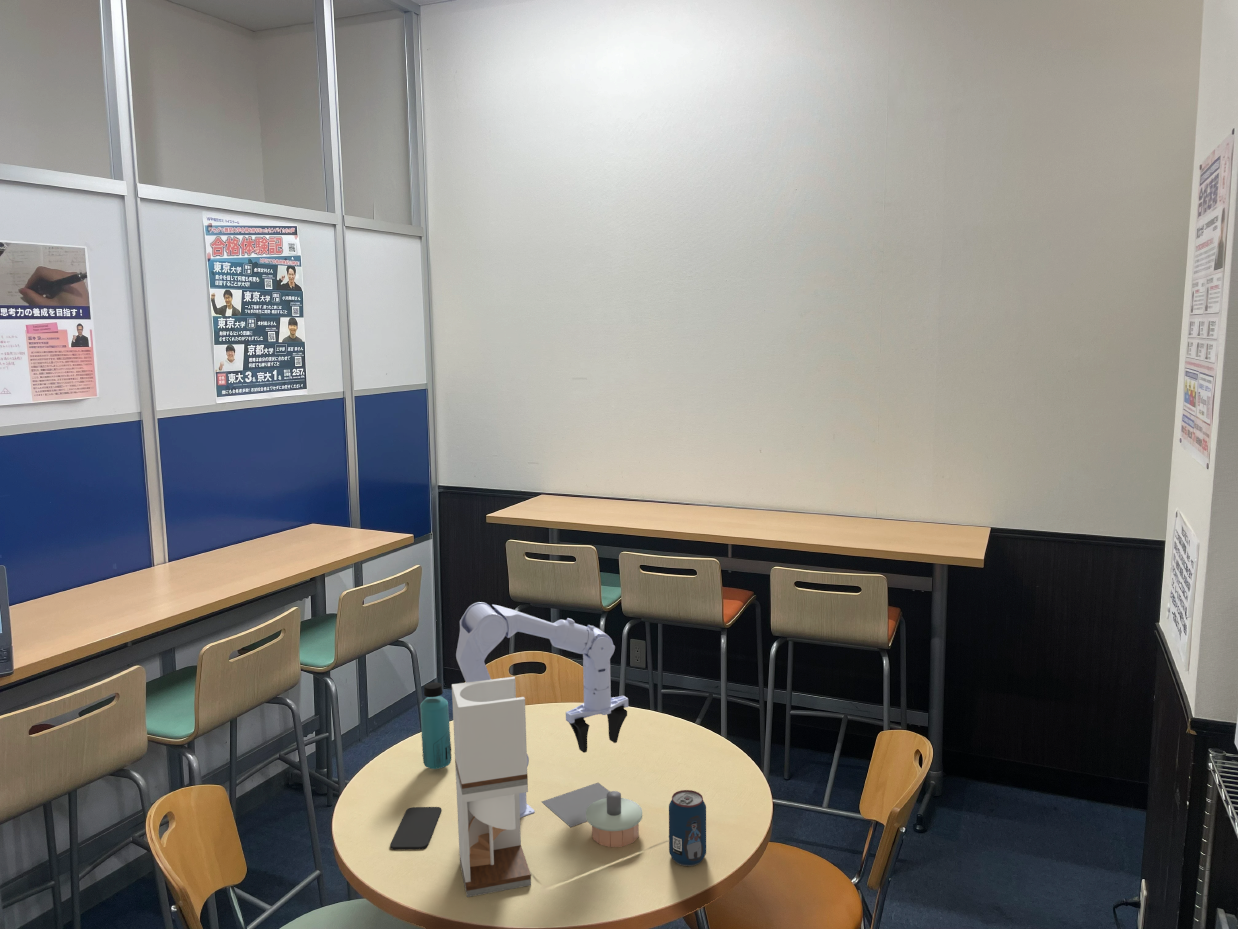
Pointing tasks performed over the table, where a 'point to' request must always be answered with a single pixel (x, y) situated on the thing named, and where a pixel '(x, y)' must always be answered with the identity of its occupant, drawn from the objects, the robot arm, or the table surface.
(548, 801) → the mat
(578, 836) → the table surface
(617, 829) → the lid
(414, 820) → the phone
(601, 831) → the bowl
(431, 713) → the beverage bottle
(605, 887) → the table surface
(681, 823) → the soda can
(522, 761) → the coffee maker
